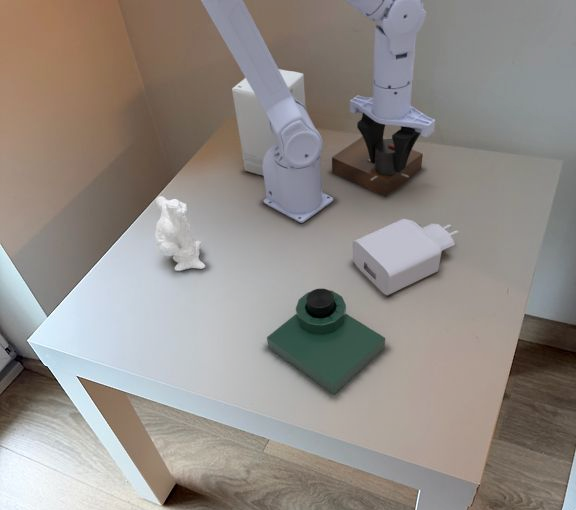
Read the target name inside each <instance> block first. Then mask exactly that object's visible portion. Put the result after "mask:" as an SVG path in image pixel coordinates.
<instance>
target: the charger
mask: <svg viewBox="0 0 576 510" xmlns="http://www.w3.org/2000/svg"><path fill="white" fill-rule="evenodd" d="M451 227H452V226H451V224H447V225H444V226H441V225H440V223H432V222H431V223H430V224H427V225H425V226H423V227H422V226H420V225H419V224H418V223H416V221H414V220H411V219H407V218H401V219H399V220H397V221H395V222H393V223H390V224H388V225H386V226H383V227H382V228H380V229H377V230H375V231H372V232H371V233H368V234H366V235H364V236H361V237H359V238H358V239H355V240H353V241H352V261H353V263H354V264H355V266H356V267H357V269H358V270H359V271H360V272H361V273H362V274H363V275H364V276H365V277H366V278H367V279H368V280H369V281H370V282H371V283H372V284H373V285H374V286H375V287H376V288H377V289H378V290H379V291H380V292H381V293H382V294H384V295H385V296H389V295H392V294H393V293H395V292H397V291H399V290H403V289H404V288H406V287H409V286H410V285H412V284H414V283H416V282H419V281H420V280H422V279H423V280H424V279H425V278H427V277H429V276H431V275H433V274H435V273H437V272H438V271H439V270H440V264H441V258H442V251H444V250H447V249H449V248H451V247H452V246H455V245H456V243H455V240H454V239H453V236H455V235H458V234H459V230H453V231H451V232H449V231H448V229H451Z"/></svg>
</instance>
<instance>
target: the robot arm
mask: <svg viewBox="0 0 576 510" xmlns="http://www.w3.org/2000/svg"><path fill="white" fill-rule="evenodd" d="M200 1H201V3H202V5H203V7H204V8H205V10H206V12H207V13H208V16H209V17H210V19H211V20H212V23H213V24H214V26H215V27H216V29H217V31H218V34H219V35H220V36H221V38H222V39H223V41H224V43H225V45H226V47H227V48H228V50H229V52H230V53H231V55H232V57H233V59H234V60H235V62H236V64H237V66H238V67H239V70H240V71H241V72H242V74H243V76H244V78H246V79H247V81H248V83H249V85H250V86H251V88H252V90H253V91H254V93H255V95H256V97H257V98H258V100H259V102H260V104H261V105H262V107H263V109H264V110H265V112H266V114H267V116H268V118H269V125H270V129H271V131H272V133H273V134H274V136H275V138H276V141H277V144H276V145H274V146H272V147H271V148H270V149H269V150H268V151H267V153H266V155H265V157H264V160H263V175H264V176H263V175H262V176H263V180H264V187H265V194H266V198H264V199H263V204H265V205H266V206H269V207H271V208H272V209H274V210H276V211H278V212H280V213H281V214H283V215H285V216H287V217H289V218H290V219H293V221H296V222H298V223H300V224H303V223H305V222H306V221H308V220H309V219H310V218H312V217H313V216H314V215H316V214H317V213H319V212H320V211H321V210H323V209H324V208H325V207H327V206H329V204H331V203H332V202H334V197H332V196H330V195H329V194H326V193H325V192H323V186H322V185H323V183H322V167H321V166H322V165H321V154H322V151H323V143H324V142H323V138H322V136H321V134H320V132H319V131H318V129H316V127H315V125H314V123H313V121H312V120H311V117H310V115H309V112H308V111H309V110H308V109H307V108H306V107H305V106H306V105H305V106H304V105H303V104H302V103H301V102H299V101H298V100H296V99H295V98H294V97H293V96H292V94H291V92H290V90H289V88H288V86H287V85H286V83H285V81H284V79H283V77H282V75H281V73H280V71H279V69H280V68H279V67H278V65H277V63H276V62H275V59H274V58H273V55H272V53H271V52H270V50H269V48H268V46H267V44H266V42H265V40H264V38H263V36H262V34H261V32H260V31H259V29H258V27H257V25H256V23H255V21H254V18H253V17H252V15H251V13H250V11H249V10H248V7H247V5H246V4H245V1H244V0H200ZM344 2H346V3H347V4H348V5H350V6H351V7H353V8H354V9H355V10H357V11H358V12H359V13H360V14H361V15H363V16H364V17H365V18H368V19H370V20H372V22H375V23H376V25H375V26H374V46H373V77H372V97H368V96H367V97H366V96H361V95H359V94H357V95H356V96H355V97H353V98H351V99H350V100H349V113H351V114H354V115H355V114H357V113H359V114H361V116H362V117H360V118H361V119H360V120H359V121H357V124H356V127H357V129H358V131H359V133H360V134H361V137H363V138H364V140H365V143H366V145H367V149H368V152H369V156H370V160H371V163H375V146H376V144H377V143H378V142H379V141H381V140H383V138H384V135H385V128H386V126H394V127H400V129H398V130H397V131H396V132H394V133H393V134H392V135H391V139H393V142H394V148H395V172H398V173H399V172H400V171H402V170H403V169H404V168H405V167H406V164H407V160H408V157H409V155H410V152H411V150H413V147H414V145H415V144H416V142H417V141H418V139H419V137H423V138H425V139H426V138H428V137H430V136H431V135H433V133H434V132H435V126H436V119H434V118H432V117H429V116H428V115H426V114H425V113H423V112H421V111H420V110H418V109H417V108H416V107H414V106H412V105H411V102H412V90H413V81H414V80H413V79H414V69H415V57H416V56H415V55H416V42H417V35H418V33H419V31H420V30H421V28H422V27H423V26H424V23H425V20H426V17H427V10H425V4H424V2H423V0H344Z"/></svg>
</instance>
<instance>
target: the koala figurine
mask: <svg viewBox="0 0 576 510" xmlns="http://www.w3.org/2000/svg"><path fill="white" fill-rule="evenodd" d="M155 206H156V207H157V209H158V210H159V211H161V214H160V218H159V219H158V221H157V222H156V226H155V231H154V239H155V242H156V247H157V249H158V251H159V252H160V253H161V254H162V255H163V256H165V257H172V259H173V260H174V262H176V263H177V264H176V265H175V266H174V270H175V271H177V272H180V271H185V270H188V269H199V270H203V269H204V268H206V264H204V262H202V261H201V260H200V258H199V257H200V249H201V245H202V242H201V241H200V240H198V239H197V240H194V238H193V235H192V233H191V229H192V228H191V225H190V223H189V222H188V218H187V213H188V210H189V209H188V207H187V203H185V202H182V201H180V200H178V198H172V199H167V198H166V197H164V196H161V195H160V196H157V197H156V199H155Z"/></svg>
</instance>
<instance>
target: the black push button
mask: <svg viewBox="0 0 576 510" xmlns="http://www.w3.org/2000/svg"><path fill="white" fill-rule="evenodd" d="M329 290H330V289H327V288H321V287H320V288H315V289H313V290H311V291H309V292H310V293H309V294H308V295H307V298H306V300H307V310H308V313H309V314H310V315H311V316H312V317H314V318H320V319H322V318H326V317H329V316H330V315H331V314H332V313H333V312H334V295H333V293H332V292H331V291H332V290H330V291H329Z"/></svg>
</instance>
